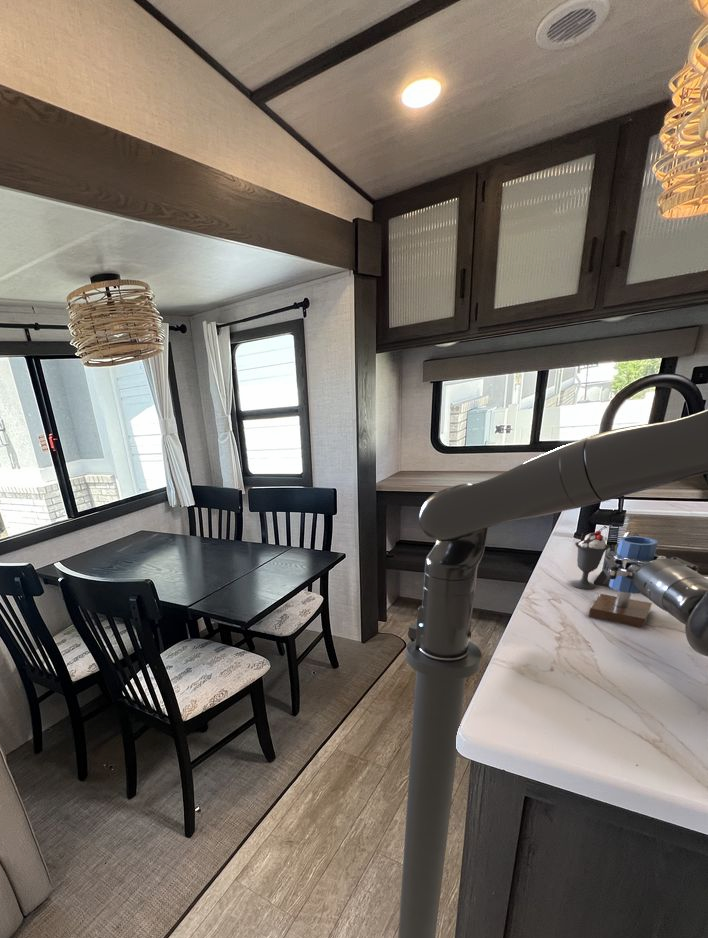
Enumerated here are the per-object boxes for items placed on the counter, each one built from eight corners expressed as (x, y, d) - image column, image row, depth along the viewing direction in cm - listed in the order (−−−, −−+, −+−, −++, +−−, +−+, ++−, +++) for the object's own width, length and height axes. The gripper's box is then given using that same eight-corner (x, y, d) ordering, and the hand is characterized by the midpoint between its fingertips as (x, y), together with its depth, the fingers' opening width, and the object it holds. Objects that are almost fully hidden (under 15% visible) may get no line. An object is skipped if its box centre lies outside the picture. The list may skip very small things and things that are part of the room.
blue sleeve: (606, 589, 95) (617, 541, 91) (612, 580, 99) (623, 534, 95) (642, 595, 91) (655, 546, 87) (647, 586, 95) (659, 538, 91)
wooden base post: (588, 616, 97) (601, 558, 92) (597, 601, 103) (611, 546, 98) (642, 628, 92) (659, 566, 86) (649, 611, 97) (666, 553, 92)
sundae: (600, 592, 107) (615, 529, 101) (566, 588, 111) (578, 526, 105) (600, 582, 112) (614, 521, 106) (567, 578, 116) (579, 519, 110)
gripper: (731, 566, 76) (674, 537, 91) (629, 566, 80) (590, 538, 95) (717, 607, 79) (664, 573, 94) (619, 605, 83) (583, 572, 98)
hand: (627, 555), depth 95 cm, fingers closed on blue sleeve, 5 cm apart
